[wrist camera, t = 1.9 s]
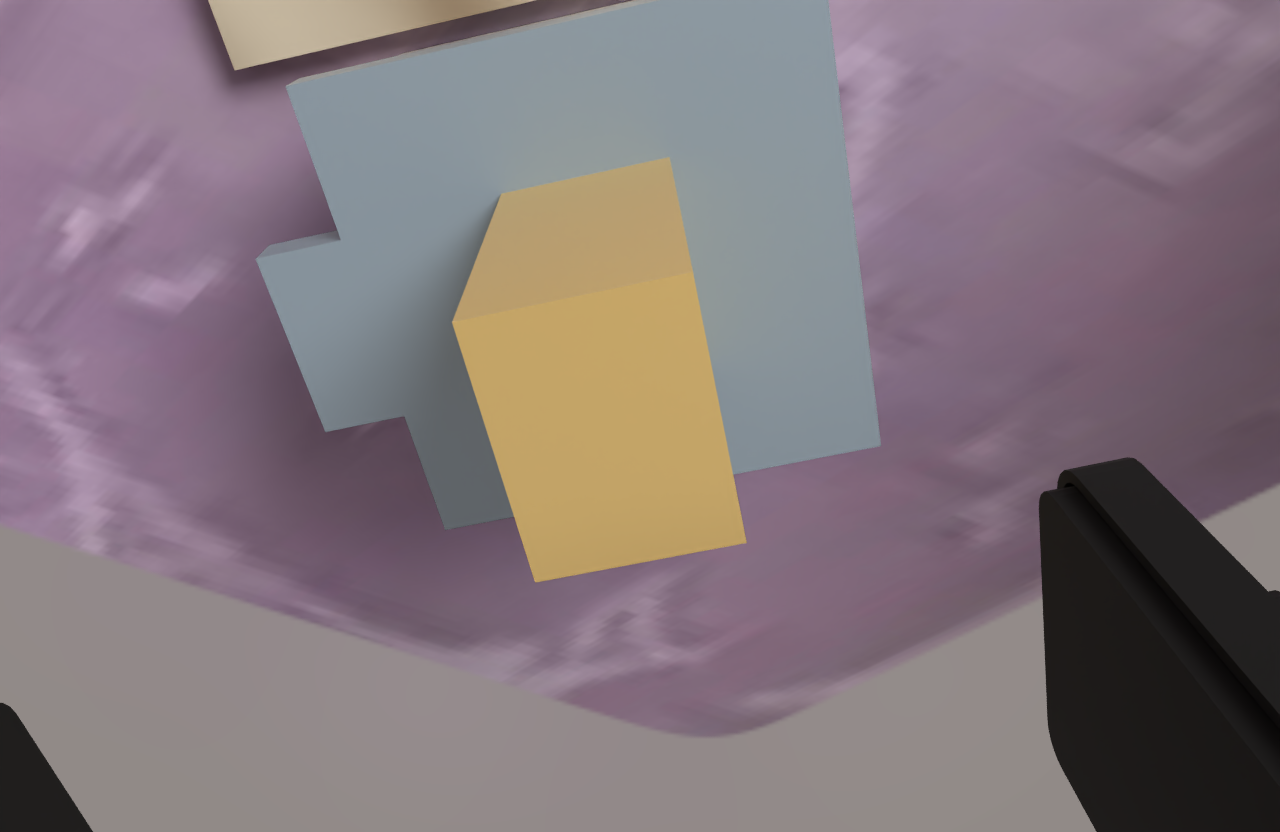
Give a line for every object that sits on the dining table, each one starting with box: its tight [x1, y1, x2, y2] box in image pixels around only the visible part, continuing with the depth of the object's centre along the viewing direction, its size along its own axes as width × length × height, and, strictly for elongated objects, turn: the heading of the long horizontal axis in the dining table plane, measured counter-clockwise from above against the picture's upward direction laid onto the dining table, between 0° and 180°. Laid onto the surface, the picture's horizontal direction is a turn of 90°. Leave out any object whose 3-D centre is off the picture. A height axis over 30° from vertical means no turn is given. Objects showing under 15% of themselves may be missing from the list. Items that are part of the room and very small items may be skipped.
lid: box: [256, 0, 881, 582], centre depth 16 cm, size 11×9×7 cm
